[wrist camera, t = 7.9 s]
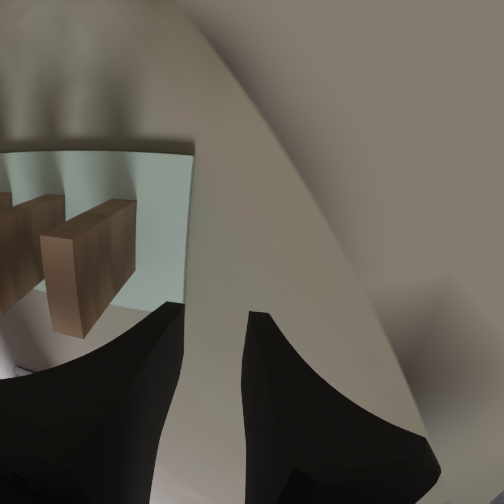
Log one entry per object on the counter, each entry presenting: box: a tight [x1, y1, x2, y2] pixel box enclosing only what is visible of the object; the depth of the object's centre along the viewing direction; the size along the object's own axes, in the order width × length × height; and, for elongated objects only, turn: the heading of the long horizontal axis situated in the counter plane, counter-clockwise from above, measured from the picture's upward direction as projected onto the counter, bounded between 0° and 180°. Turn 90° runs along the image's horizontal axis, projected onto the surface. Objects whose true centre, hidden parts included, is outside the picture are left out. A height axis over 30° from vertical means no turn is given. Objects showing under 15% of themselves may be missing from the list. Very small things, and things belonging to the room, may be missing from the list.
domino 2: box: [40, 198, 137, 339], centre depth 14 cm, size 4×2×8 cm, turn 172°
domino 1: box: [0, 194, 66, 316], centre depth 14 cm, size 4×2×8 cm, turn 173°
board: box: [0, 151, 195, 312], centre depth 17 cm, size 10×28×1 cm, turn 83°
